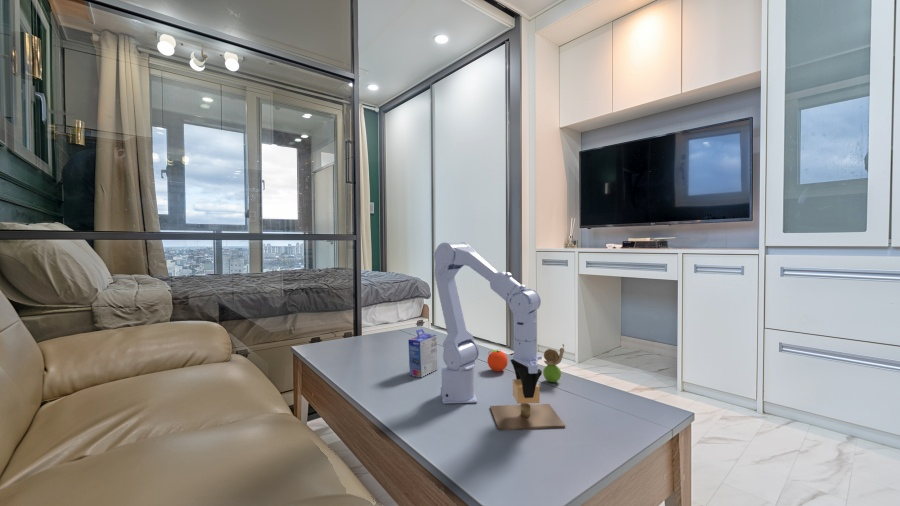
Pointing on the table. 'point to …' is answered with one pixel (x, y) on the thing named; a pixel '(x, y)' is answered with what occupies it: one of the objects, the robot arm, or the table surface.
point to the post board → (526, 417)
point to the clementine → (497, 360)
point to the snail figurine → (552, 364)
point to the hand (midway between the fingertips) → (525, 392)
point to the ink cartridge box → (423, 354)
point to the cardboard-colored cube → (520, 396)
